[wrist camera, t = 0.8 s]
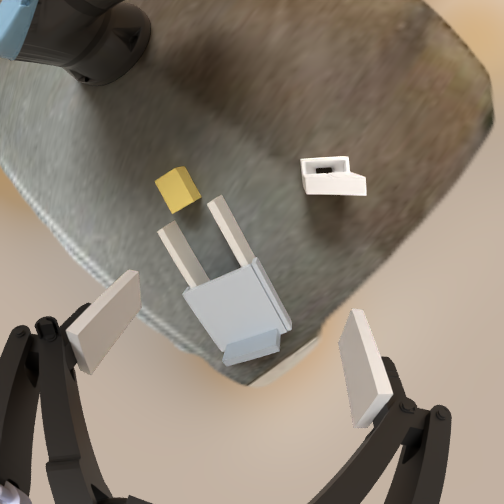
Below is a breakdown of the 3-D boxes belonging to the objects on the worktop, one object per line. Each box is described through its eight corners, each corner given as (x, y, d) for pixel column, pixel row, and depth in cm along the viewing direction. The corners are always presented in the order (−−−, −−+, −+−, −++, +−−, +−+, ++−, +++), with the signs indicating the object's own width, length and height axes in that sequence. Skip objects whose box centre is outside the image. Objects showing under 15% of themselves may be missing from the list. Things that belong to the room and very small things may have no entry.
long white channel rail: (169, 223, 39) (157, 231, 35) (221, 194, 36) (213, 200, 32) (234, 329, 44) (229, 346, 40) (284, 311, 42) (284, 328, 38)
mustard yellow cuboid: (165, 178, 37) (154, 181, 33) (185, 166, 36) (175, 167, 32) (181, 208, 38) (172, 213, 35) (201, 197, 37) (193, 201, 34)
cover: (186, 287, 38) (172, 308, 33) (257, 256, 35) (252, 276, 30) (224, 343, 41) (216, 369, 36) (291, 321, 38) (291, 347, 33)
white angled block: (381, 184, 31) (366, 195, 25) (311, 183, 37) (280, 194, 31) (379, 155, 30) (364, 158, 23) (309, 157, 36) (276, 162, 29)
